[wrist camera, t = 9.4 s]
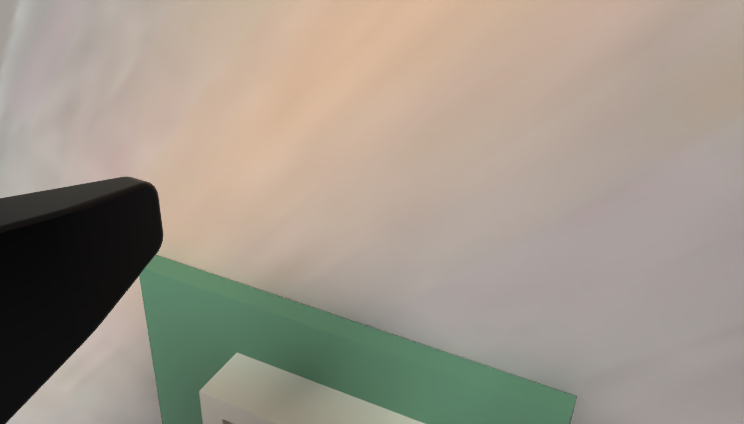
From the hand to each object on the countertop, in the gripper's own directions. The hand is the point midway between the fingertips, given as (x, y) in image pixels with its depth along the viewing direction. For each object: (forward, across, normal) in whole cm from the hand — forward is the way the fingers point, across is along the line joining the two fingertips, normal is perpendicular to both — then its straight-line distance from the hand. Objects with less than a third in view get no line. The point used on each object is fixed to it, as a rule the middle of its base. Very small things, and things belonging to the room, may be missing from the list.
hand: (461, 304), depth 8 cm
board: (+12, +8, +19) cm, 24 cm away
